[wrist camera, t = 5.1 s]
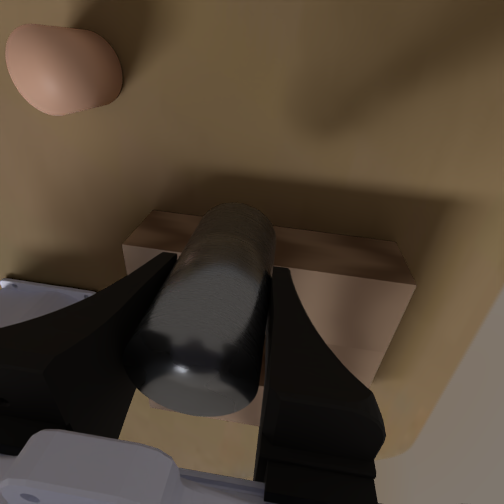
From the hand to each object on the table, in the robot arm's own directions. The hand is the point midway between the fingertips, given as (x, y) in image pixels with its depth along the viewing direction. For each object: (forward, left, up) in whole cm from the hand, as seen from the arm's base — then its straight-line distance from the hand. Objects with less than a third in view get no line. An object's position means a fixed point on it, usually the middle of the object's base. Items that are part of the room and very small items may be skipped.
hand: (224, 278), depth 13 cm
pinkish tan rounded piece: (-10, +6, -10) cm, 16 cm away
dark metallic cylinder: (0, 0, -3) cm, 3 cm away
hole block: (+2, -12, -10) cm, 16 cm away
